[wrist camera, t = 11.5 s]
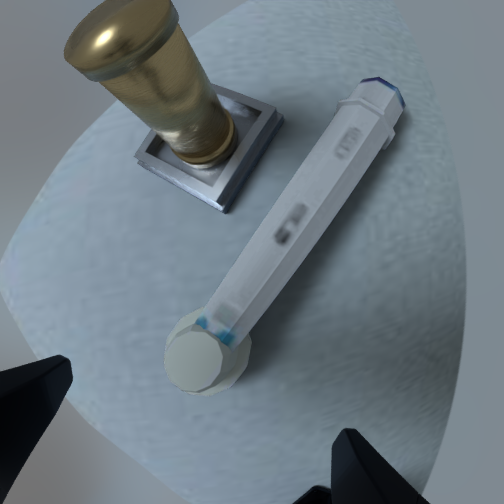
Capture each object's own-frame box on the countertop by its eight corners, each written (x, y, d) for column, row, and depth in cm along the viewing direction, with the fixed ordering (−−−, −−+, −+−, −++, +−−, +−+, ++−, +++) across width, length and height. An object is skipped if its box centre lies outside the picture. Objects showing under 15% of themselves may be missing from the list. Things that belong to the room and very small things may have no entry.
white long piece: (421, 100, 15) (195, 435, 13) (392, 145, 22) (218, 398, 19) (357, 61, 16) (120, 375, 14) (342, 113, 22) (163, 356, 20)
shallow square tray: (225, 214, 20) (216, 207, 18) (142, 167, 22) (129, 158, 20) (283, 121, 20) (282, 106, 18) (197, 87, 22) (189, 73, 19)
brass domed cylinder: (201, 181, 20) (82, 80, 7) (165, 143, 21) (54, 46, 8) (251, 136, 19) (189, -7, 7) (210, 101, 20) (134, -22, 7)
